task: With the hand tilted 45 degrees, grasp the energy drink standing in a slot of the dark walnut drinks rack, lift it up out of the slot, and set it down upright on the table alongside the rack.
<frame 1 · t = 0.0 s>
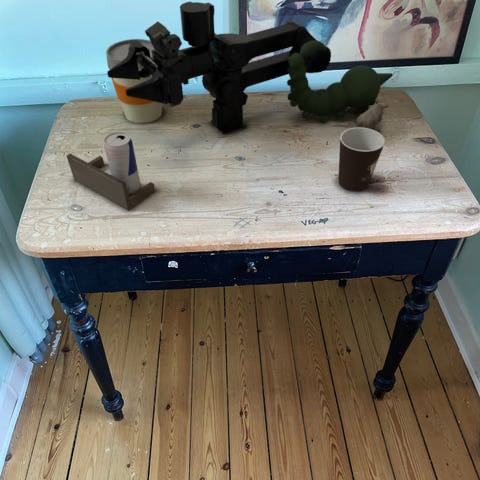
hand: (116, 83, 97), 17 cm above the table, tool horizontal, fingers open, 9 cm apart
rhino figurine: (369, 131, 116), on the table
drinks rack: (116, 184, 104), on the table
toy figurine: (334, 115, 121), on the table, touching arm
wireless earbuds: (305, 100, 126), on the table
energy drink: (129, 192, 102), resting in drinks rack
reusable coffee cup: (143, 114, 122), on the table
coffee mug: (359, 181, 104), on the table
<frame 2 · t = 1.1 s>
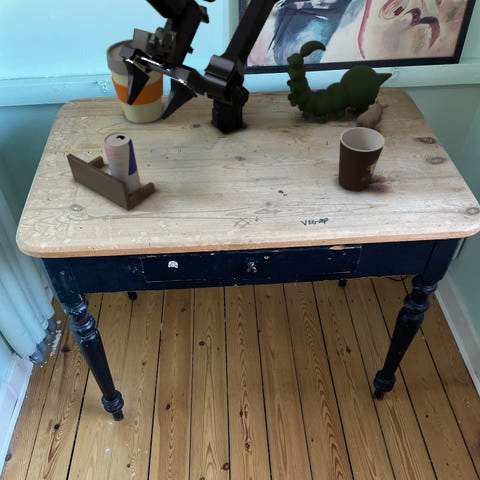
hand: (145, 111, 95), 14 cm above the table, tool tilted 45°, fingers open, 9 cm apart
toy figurine: (334, 116, 121), on the table
everything else where it was.
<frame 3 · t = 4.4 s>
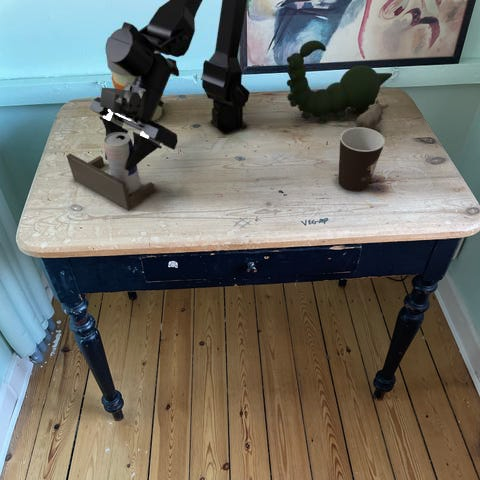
hand: (116, 165, 96), 7 cm above the table, tool tilted 45°, fingers closed on energy drink, 5 cm apart
energy drink: (129, 192, 102), resting in drinks rack, touching gripper
everything else where it was.
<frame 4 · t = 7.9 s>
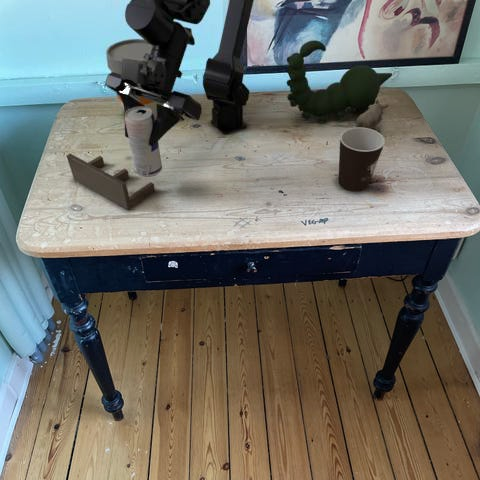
hand: (138, 141, 92), 12 cm above the table, tool tilted 45°, fingers closed on energy drink, 5 cm apart
energy drink: (149, 170, 99), point 5 cm above the table, touching gripper
everything else where it was.
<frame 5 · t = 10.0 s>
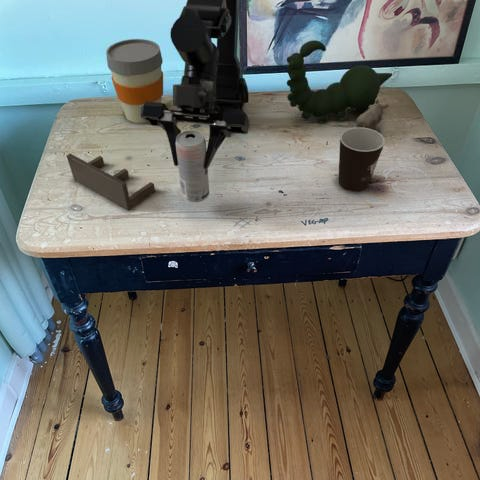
hand: (190, 167, 89), 11 cm above the table, tool tilted 45°, fingers closed on energy drink, 5 cm apart
energy drink: (195, 195, 95), point 4 cm above the table, touching gripper
everything else where it was.
when the fingers open (7 cm above the table, at t = 11.6 s): energy drink stays where it is, on the table.
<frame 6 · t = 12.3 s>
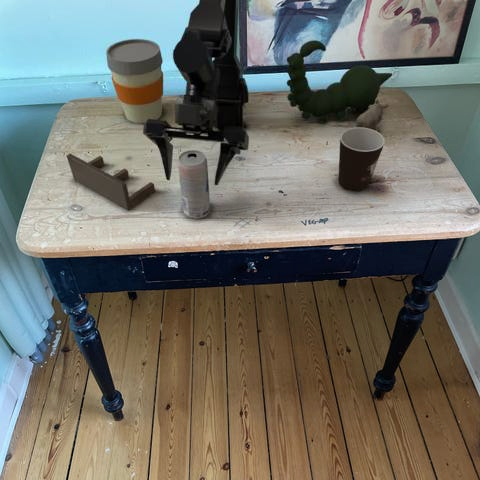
hand: (191, 182, 91), 8 cm above the table, tool tilted 45°, fingers open, 9 cm apart
energy drink: (197, 211, 98), on the table
everything else where it was.
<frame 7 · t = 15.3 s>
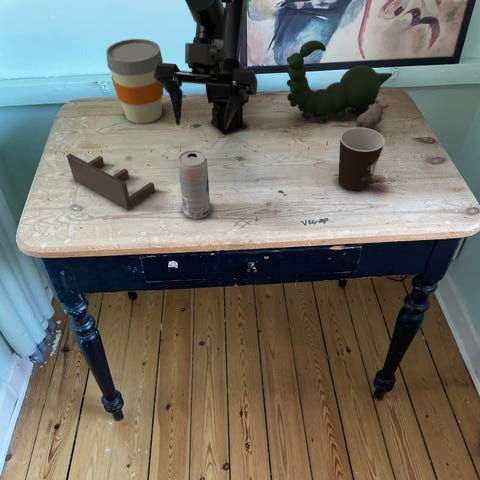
hand: (201, 126, 92), 14 cm above the table, tool tilted 45°, fingers open, 9 cm apart
nothing on the table moved.
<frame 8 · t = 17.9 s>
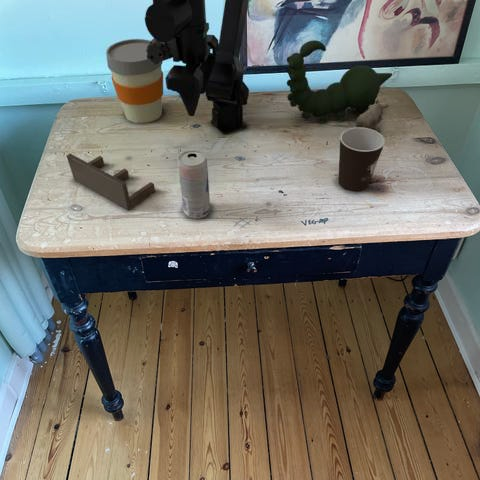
hand: (196, 104, 101), 12 cm above the table, tool pointing down, fingers open, 9 cm apart
nothing on the table moved.
at the end: energy drink 0.1 cm from the target spot, on the table; energy drink tilted 0°; the gripper is holding nothing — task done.
